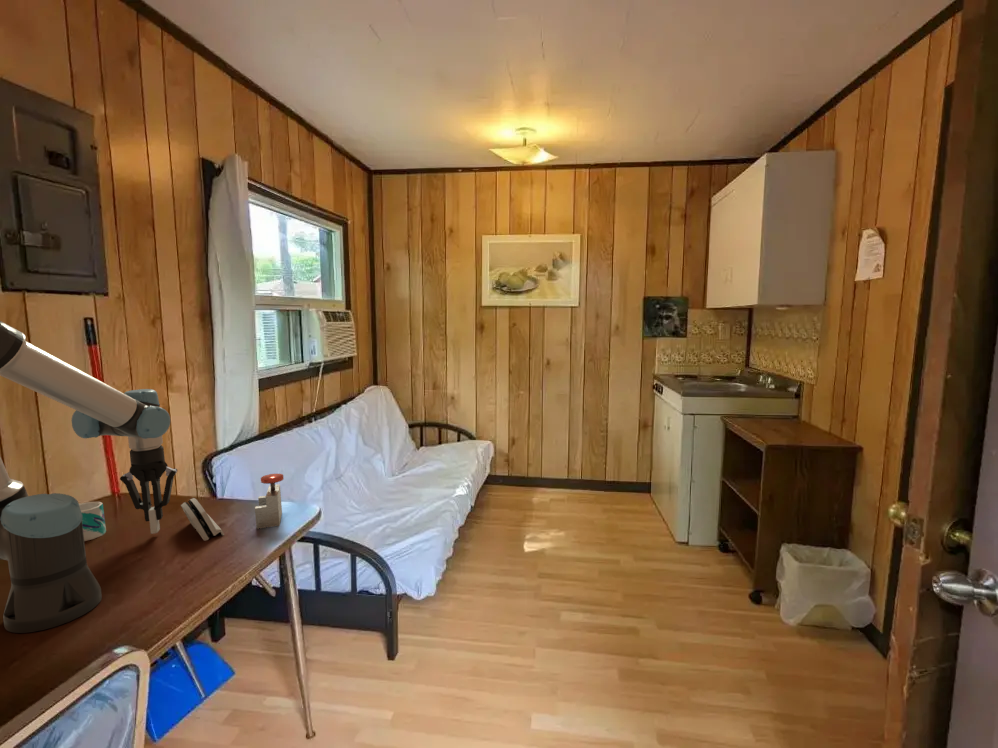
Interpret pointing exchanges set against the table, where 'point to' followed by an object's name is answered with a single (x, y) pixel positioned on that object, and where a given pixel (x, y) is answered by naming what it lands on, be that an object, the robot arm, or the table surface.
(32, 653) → the table surface
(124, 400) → the robot arm
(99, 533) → the mug
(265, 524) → the valve body
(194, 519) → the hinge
